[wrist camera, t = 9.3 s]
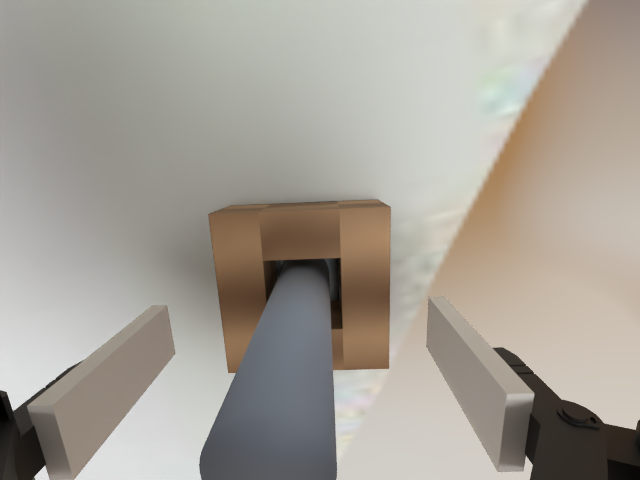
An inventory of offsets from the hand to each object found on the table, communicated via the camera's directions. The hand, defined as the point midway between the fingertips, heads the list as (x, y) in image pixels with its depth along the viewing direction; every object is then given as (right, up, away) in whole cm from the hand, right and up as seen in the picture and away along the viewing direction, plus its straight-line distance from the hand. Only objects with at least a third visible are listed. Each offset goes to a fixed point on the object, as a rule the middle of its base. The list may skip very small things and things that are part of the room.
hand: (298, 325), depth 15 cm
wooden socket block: (0, +2, +8) cm, 9 cm away
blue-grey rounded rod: (0, +2, +8) cm, 9 cm away
